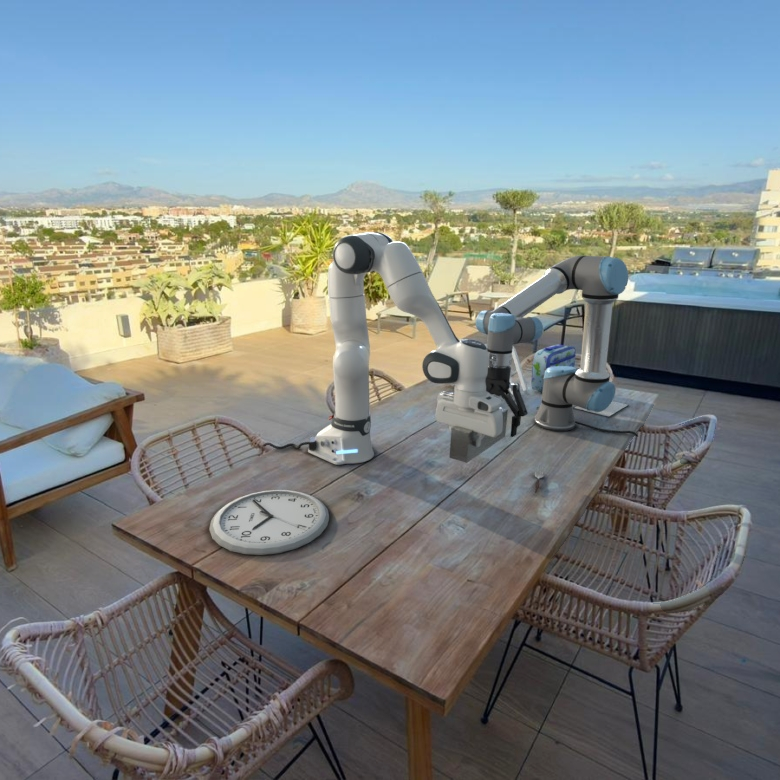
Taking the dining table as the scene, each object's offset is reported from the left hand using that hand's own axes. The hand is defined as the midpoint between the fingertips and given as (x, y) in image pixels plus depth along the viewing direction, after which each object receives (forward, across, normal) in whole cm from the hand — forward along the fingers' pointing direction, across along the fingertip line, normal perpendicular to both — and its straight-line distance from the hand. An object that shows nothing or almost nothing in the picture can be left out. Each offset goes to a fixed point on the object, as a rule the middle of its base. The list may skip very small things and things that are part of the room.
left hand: (466, 442), depth 151 cm
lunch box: (+13, -15, +113) cm, 114 cm away
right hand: (+1, 0, +17) cm, 17 cm away
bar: (+4, 0, +9) cm, 9 cm away
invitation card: (+13, +12, +101) cm, 103 cm away
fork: (+14, +17, +16) cm, 27 cm away
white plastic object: (+14, -39, +86) cm, 95 cm away
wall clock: (+14, -29, -48) cm, 58 cm away
